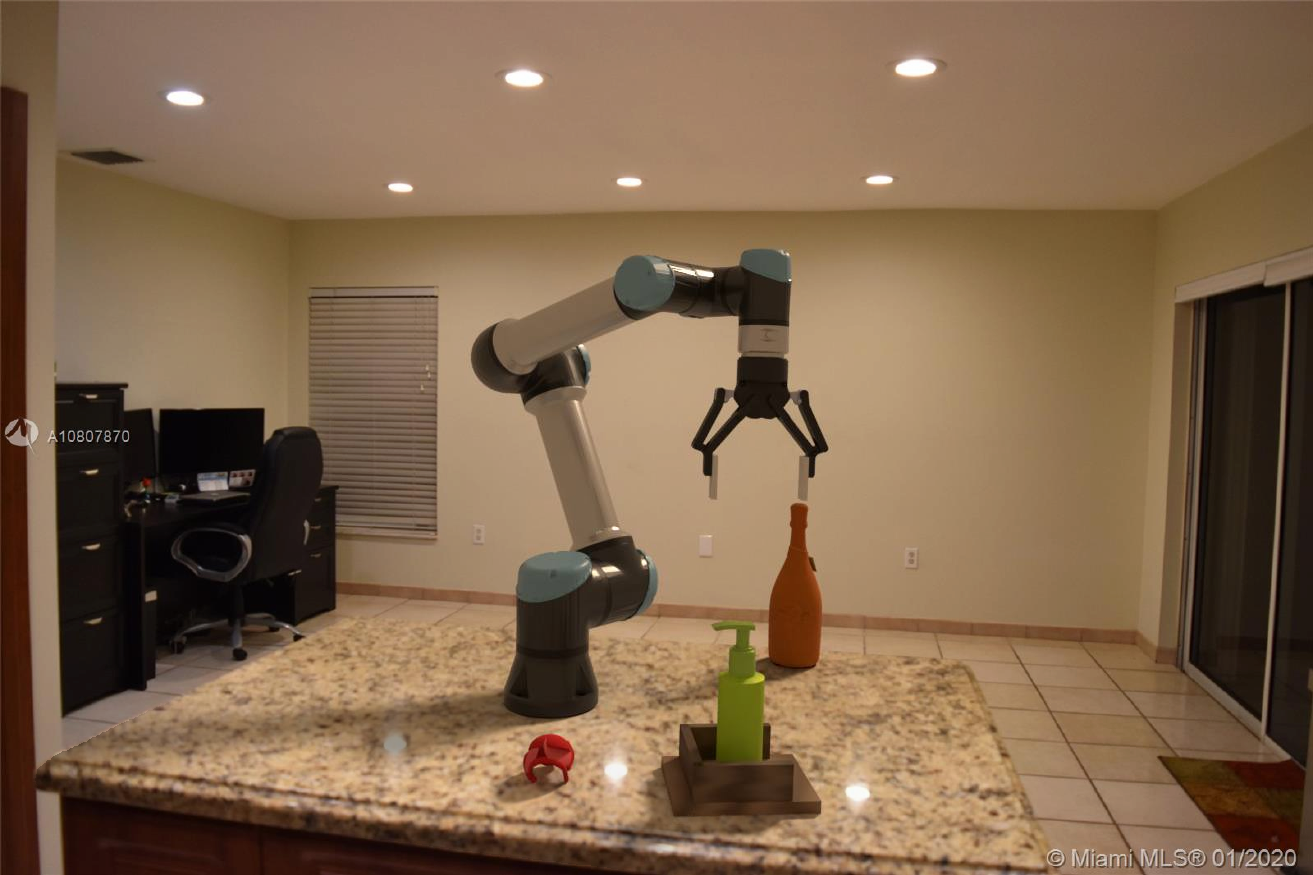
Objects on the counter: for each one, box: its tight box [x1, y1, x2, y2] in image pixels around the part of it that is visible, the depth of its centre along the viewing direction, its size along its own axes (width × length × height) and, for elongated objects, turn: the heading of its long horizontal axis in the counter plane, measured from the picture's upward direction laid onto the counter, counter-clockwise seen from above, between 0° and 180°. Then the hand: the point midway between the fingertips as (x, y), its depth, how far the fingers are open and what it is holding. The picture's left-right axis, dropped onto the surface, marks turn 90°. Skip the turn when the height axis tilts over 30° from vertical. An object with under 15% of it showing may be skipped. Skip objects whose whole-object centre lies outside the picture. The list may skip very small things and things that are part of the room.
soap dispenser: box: [711, 620, 766, 762], centre depth 116 cm, size 6×7×20 cm
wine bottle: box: [767, 502, 823, 669], centre depth 169 cm, size 10×10×30 cm
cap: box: [522, 733, 575, 784], centre depth 118 cm, size 8×6×6 cm
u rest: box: [660, 722, 822, 818], centre depth 116 cm, size 18×14×6 cm
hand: (757, 499), depth 135 cm, fingers open, 13 cm apart
